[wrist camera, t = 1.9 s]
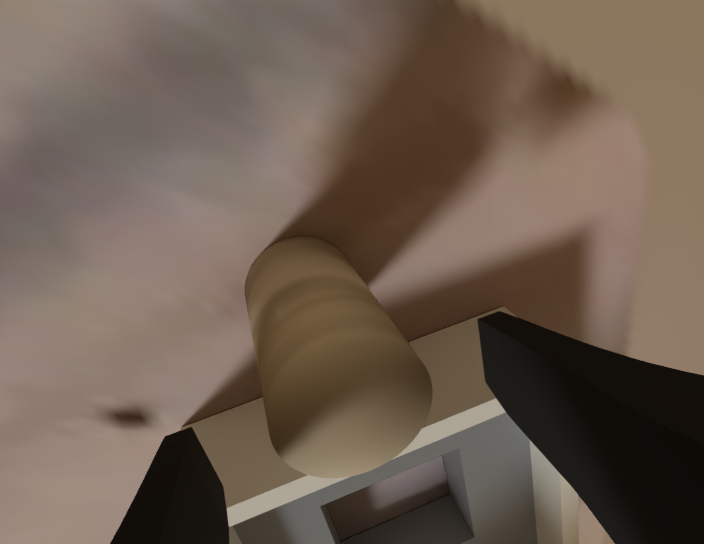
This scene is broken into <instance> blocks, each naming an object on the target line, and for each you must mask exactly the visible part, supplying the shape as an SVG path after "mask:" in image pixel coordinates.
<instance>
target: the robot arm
mask: <svg viewBox="0 0 704 544" xmlns="http://www.w3.org/2000/svg"><path fill="white" fill-rule="evenodd" d="M477 321H478V329H479V337H480V345H481V353H482V360H483V368H484V376H485V382H486V384H487V385H488V387H489V388H490V390H491V391H492V393H493V394H494V396H495V397H496V399H497V400H498V402H499V403H500V404H501V406H502V407H503V409H504V410H505V412H506V413H507V414H508V416H509V417H510V418H511V419H512V420H513V421H514V423H515V424H516V425H517V426H518V427H519V428H520V429H521V430H522V432H523V433H524V434H525V435H526V436H527V437H528V438H529V440H530V441H531V442H532V443H533V444H534V445H535V446H536V447H537V448H538V450H539V451H540V452H541V453H542V454H543V455H544V456H545V457H546V459H547V460H548V461H549V462H550V463H551V464H552V465H553V466H554V467H555V469H556V470H557V471H558V472H559V473H560V474H561V475H562V476H563V478H564V479H565V480H566V481H567V482H568V483H569V484H570V485H571V487H572V488H573V489H574V490H575V491H576V493H577V494H578V495H579V496H580V497H581V499H582V500H583V501H584V502H585V504H586V505H587V506H588V508H589V509H590V510H591V512H592V513H593V514H594V516H595V517H596V518H597V520H598V521H599V522H600V524H601V525H602V527H603V528H604V529H605V531H606V532H607V533H608V535H609V536H610V537H611V539H612V540H613V541H614V543H615V544H704V376H703V375H698V374H694V373H689V372H684V371H680V370H676V369H672V368H668V367H664V366H660V365H656V364H651V363H647V362H644V361H640V360H637V359H633V358H630V357H627V356H624V355H620V354H617V353H614V352H611V351H608V350H604V349H601V348H598V347H595V346H592V345H589V344H586V343H584V342H581V341H578V340H575V339H572V338H570V337H567V336H564V335H562V334H559V333H556V332H554V331H551V330H548V329H546V328H543V327H541V326H538V325H536V324H533V323H530V322H528V321H525V320H523V319H520V318H517V317H515V316H512V315H509V314H507V313H504V312H501V311H498V312H495V313H492V314H490V315H487V316H484V317H482V318H479V319H477ZM110 544H229V524H228V516H227V508H226V501H225V494H224V487H223V484H222V483H221V481H220V479H219V477H218V475H217V473H216V471H215V469H214V468H213V466H212V464H211V462H210V460H209V458H208V456H207V455H206V453H205V451H204V449H203V447H202V445H201V443H200V441H199V440H198V438H197V436H196V434H195V432H194V430H193V428H192V427H189V428H186V429H184V430H181V431H178V432H176V433H173V434H170V435H168V436H165V437H164V439H163V441H162V443H161V445H160V447H159V449H158V451H157V453H156V455H155V457H154V459H153V461H152V463H151V465H150V467H149V469H148V471H147V474H146V476H145V478H144V480H143V482H142V484H141V486H140V488H139V490H138V492H137V494H136V496H135V498H134V500H133V502H132V504H131V505H130V507H129V509H128V511H127V513H126V515H125V517H124V519H123V521H122V523H121V525H120V527H119V529H118V530H117V532H116V534H115V536H114V538H113V539H112V541H111V543H110Z"/></svg>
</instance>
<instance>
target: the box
mask: <svg viewBox="0 0 704 544" xmlns="http://www.w3.org/2000/svg"><path fill="white" fill-rule="evenodd" d="M498 311H501V312H504V313H507V314H509V315H512V316H515V315H514V314H513V313H512V312H510V311H509V310H508V309H507V308H505V307H504V306H503V307H500V308H498V309H495V310H492V311H490V312H487V313H484V314H482V315H479V316H476V317H474V318H471V319H469V320H466V321H463V322H461V323H458V324H455V325H453V326H450V327H447V328H445V329H442V330H439V331H437V332H434V333H431V334H429V335H426V336H423V337H421V338H418V339H415V340H413V341H410V342H408V343H409V344H410V346H411V347H412V348H413V350H414V351H415V352H416V354H417V355H418V357H419V358H420V359H421V361H422V362H423V364H424V365H425V366H426V368H427V370H428V372H429V375H430V378H431V382H432V390H433V394H432V403H431V408H430V412H429V415H428V417H427V419H426V422H425V424H424V426H423V427H422V429H421V430H420V432H419V434H418V435H417V436H416V437H415V439H414V440H413V441H412V442H411V443H410V444H409V445H408V446H407V447H406V448H405V449H404V450H403V451H402V452H401V453H400V454H398V455H397V456H396V457H394V458H393V459H391V460H390V461H388V462H387V463H385V464H383V465H382V466H380V467H377V468H375V469H373V470H371V471H368V472H365V473H362V474H359V475H355V476H351V477H344V478H320V477H314V476H310V475H307V474H304V473H301V472H299V471H297V470H295V469H294V468H292V467H290V466H289V465H288V464H287V463H285V462H284V461H283V460H282V459H281V458H280V456H279V455H278V454H277V453H276V451H275V449H274V447H273V445H272V442H271V439H270V436H269V430H268V424H267V419H266V413H265V407H264V401H263V397H261V398H259V399H256V400H253V401H251V402H248V403H245V404H243V405H240V406H237V407H235V408H232V409H229V410H227V411H224V412H221V413H219V414H216V415H213V416H211V417H208V418H205V419H203V420H200V421H197V422H195V423H192V424H189V425H187V426H184V427H181V430H184V429H186V428H189V427H192V428H193V430H194V432H195V434H196V436H197V438H198V440H199V441H200V443H201V445H202V447H203V449H204V451H205V453H206V455H207V456H208V458H209V460H210V462H211V464H212V466H213V468H214V469H215V471H216V473H217V475H218V477H219V479H220V481H221V483H222V484H223V487H224V494H225V501H226V508H227V516H228V524H229V544H579V517H578V494H577V493H576V491H575V490H574V489H573V488H572V487H571V485H570V484H569V483H568V482H567V481H566V480H565V479H564V478H563V476H562V475H561V474H560V473H559V472H558V471H557V470H556V469H555V467H554V466H553V465H552V464H551V463H550V462H549V461H548V460H547V459H546V457H545V456H544V455H543V454H542V453H541V452H540V451H539V450H538V448H537V447H536V446H535V445H534V444H533V443H532V442H531V441H530V440H529V438H528V437H527V436H526V435H525V434H524V433H523V432H522V430H521V429H520V428H519V427H518V426H517V425H516V424H515V423H514V421H513V420H512V419H511V418H510V417H509V416H508V414H507V413H506V412H505V410H504V409H503V407H502V406H501V404H500V403H499V402H498V400H497V399H496V397H495V396H494V394H493V393H492V391H491V390H490V388H489V387H488V385H487V384H486V382H485V376H484V368H483V360H482V353H481V345H480V337H479V329H478V321H477V319H479V318H482V317H484V316H487V315H490V314H492V313H495V312H498ZM515 317H516V316H515ZM517 318H518V317H517ZM441 455H442V457H443V461H444V466H445V471H446V476H447V481H448V486H449V491H450V494H449V495H447V496H445V497H442V498H440V499H438V500H435V501H433V502H431V503H429V504H426V505H424V506H422V507H419V508H417V509H415V510H412V511H410V512H408V513H406V514H403V515H401V516H399V517H396V518H394V519H392V520H390V521H387V522H385V523H383V524H380V525H378V526H376V527H373V528H371V529H369V530H367V531H364V532H362V533H360V534H357V535H355V536H353V537H350V538H348V539H346V540H344V541H341V542H340V540H339V537H338V535H337V532H336V530H335V527H334V525H333V522H332V520H331V517H330V515H329V512H328V509H327V507H326V504H327V503H329V502H332V501H334V500H336V499H339V498H341V497H344V496H346V495H348V494H351V493H353V492H355V491H358V490H360V489H363V488H365V487H367V486H370V485H372V484H375V483H377V482H379V481H382V480H384V479H386V478H389V477H391V476H394V475H396V474H398V473H401V472H403V471H405V470H408V469H410V468H413V467H415V466H417V465H420V464H422V463H424V462H427V461H429V460H432V459H434V458H436V457H439V456H441Z"/></svg>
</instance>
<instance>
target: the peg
mask: <svg viewBox="0 0 704 544" xmlns="http://www.w3.org/2000/svg"><path fill="white" fill-rule="evenodd" d="M245 297H246V304H247V309H248V315H249V321H250V327H251V332H252V338H253V344H254V350H255V355H256V361H257V367H258V373H259V378H260V384H261V390H262V396H263V401H264V407H265V413H266V419H267V424H268V430H269V436H270V439H271V442H272V445H273V447H274V449H275V451H276V453H277V454H278V455H279V456H280V458H281V459H282V460H283V461H284V462H285V463H287V464H288V465H289V466H290V467H292V468H294V469H295V470H297V471H299V472H301V473H304V474H307V475H310V476H314V477H320V478H344V477H351V476H355V475H359V474H362V473H365V472H368V471H371V470H373V469H375V468H377V467H380V466H382V465H383V464H385V463H387V462H388V461H390V460H391V459H393V458H394V457H396V456H397V455H398V454H400V453H401V452H402V451H403V450H404V449H405V448H406V447H407V446H408V445H409V444H410V443H411V442H412V441H413V440H414V439H415V437H416V436H417V435H418V434H419V432H420V430H421V429H422V427H423V426H424V424H425V422H426V419H427V417H428V415H429V412H430V408H431V403H432V394H433V390H432V382H431V378H430V375H429V372H428V370H427V368H426V366H425V365H424V364H423V362H422V361H421V359H420V358H419V357H418V355H417V354H416V352H415V351H414V350H413V348H412V347H411V346H410V344H409V343H408V342H407V340H406V339H405V337H404V336H403V335H402V333H401V332H400V331H399V329H398V328H397V326H396V325H395V324H394V322H393V321H392V320H391V318H390V317H389V316H388V314H387V313H386V311H385V310H384V309H383V307H382V306H381V305H380V303H379V302H378V300H377V299H376V298H375V296H374V295H373V294H372V292H371V291H370V290H369V288H368V287H367V285H366V284H365V283H364V281H363V280H362V279H361V277H360V276H359V275H358V273H357V272H356V270H355V269H354V268H353V266H352V265H351V264H350V262H349V261H348V259H347V258H346V257H345V255H344V254H343V253H342V252H341V251H340V250H339V249H338V248H337V247H336V246H334V245H333V244H331V243H329V242H328V241H325V240H323V239H320V238H316V237H310V236H297V237H291V238H287V239H284V240H281V241H279V242H277V243H275V244H273V245H271V246H270V247H268V248H267V249H266V250H264V251H263V252H262V253H261V254H260V255H259V256H258V257H257V259H256V260H255V261H254V263H253V264H252V266H251V268H250V270H249V272H248V275H247V278H246V283H245Z"/></svg>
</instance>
